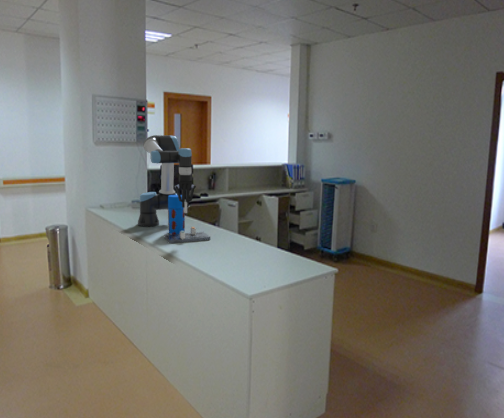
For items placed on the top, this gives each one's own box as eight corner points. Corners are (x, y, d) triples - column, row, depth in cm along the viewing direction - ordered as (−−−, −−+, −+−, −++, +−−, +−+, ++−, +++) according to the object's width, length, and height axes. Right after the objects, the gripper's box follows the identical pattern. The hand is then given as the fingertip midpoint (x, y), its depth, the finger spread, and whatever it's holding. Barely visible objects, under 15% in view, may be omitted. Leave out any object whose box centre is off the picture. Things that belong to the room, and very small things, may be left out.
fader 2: (190, 233, 260) (190, 226, 260) (194, 232, 261) (194, 226, 261) (192, 234, 257) (192, 227, 257) (195, 234, 258) (195, 227, 258)
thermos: (181, 235, 264) (180, 197, 260) (165, 233, 267) (165, 196, 262) (187, 231, 275) (186, 195, 271) (172, 230, 277) (171, 194, 273)
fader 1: (179, 237, 249) (179, 230, 248) (183, 237, 250) (183, 230, 249) (181, 238, 246) (181, 231, 245) (185, 238, 247) (185, 231, 246)
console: (164, 238, 255) (164, 234, 255) (203, 234, 266) (203, 231, 266) (169, 243, 242) (169, 240, 242) (210, 240, 253) (210, 237, 253)
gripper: (176, 175, 236) (176, 214, 240) (197, 174, 241) (197, 213, 245) (173, 173, 242) (173, 212, 247) (193, 173, 248) (193, 210, 252)
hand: (185, 212), depth 246 cm, fingers closed
